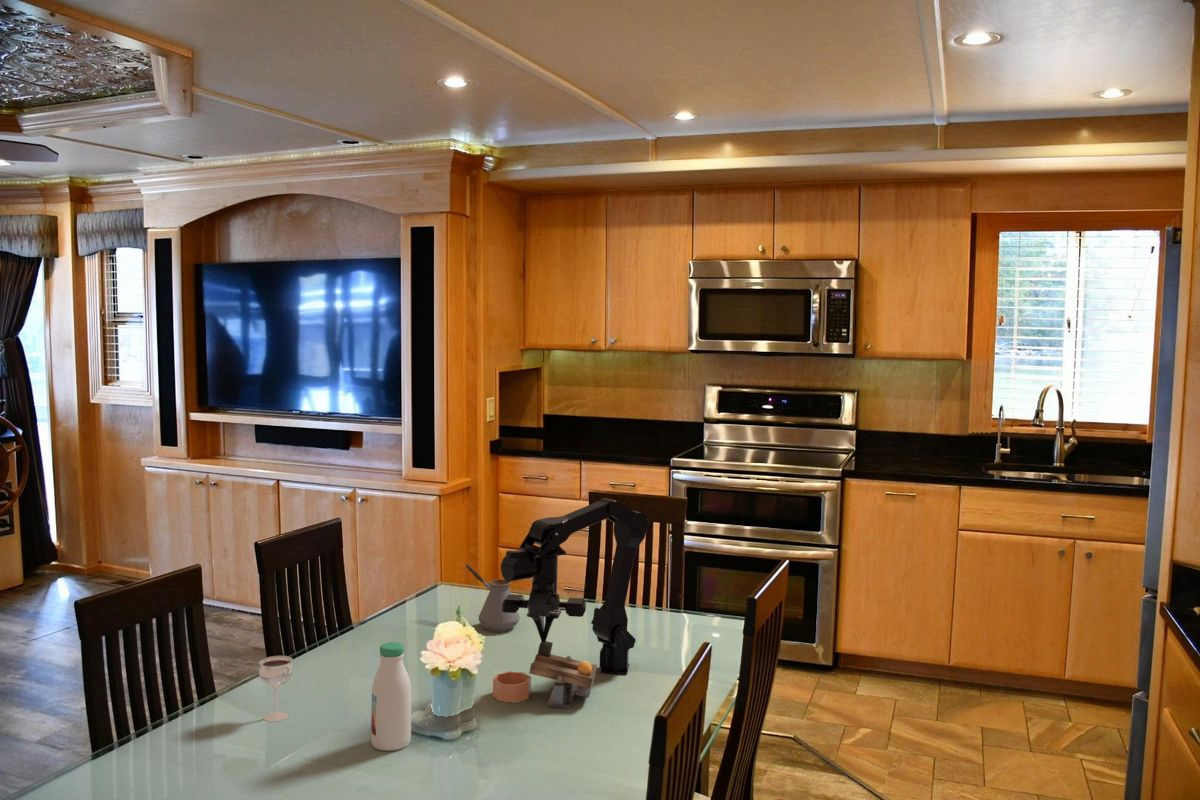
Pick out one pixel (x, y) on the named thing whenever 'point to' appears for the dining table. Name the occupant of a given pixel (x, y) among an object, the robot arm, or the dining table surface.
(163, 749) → the dining table surface
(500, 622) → the coffee pot
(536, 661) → the lever
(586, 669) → the ball
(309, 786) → the dining table surface
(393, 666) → the milk bottle
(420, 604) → the dining table surface
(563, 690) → the stand
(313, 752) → the dining table surface
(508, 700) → the terracotta octagonal container
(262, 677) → the wineglass
